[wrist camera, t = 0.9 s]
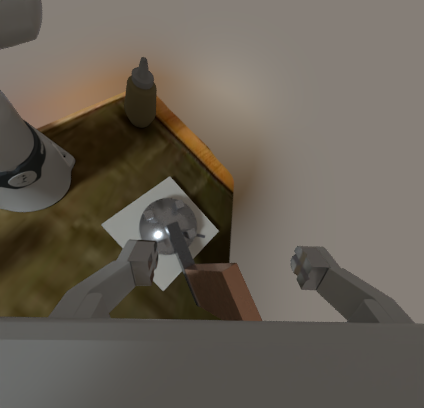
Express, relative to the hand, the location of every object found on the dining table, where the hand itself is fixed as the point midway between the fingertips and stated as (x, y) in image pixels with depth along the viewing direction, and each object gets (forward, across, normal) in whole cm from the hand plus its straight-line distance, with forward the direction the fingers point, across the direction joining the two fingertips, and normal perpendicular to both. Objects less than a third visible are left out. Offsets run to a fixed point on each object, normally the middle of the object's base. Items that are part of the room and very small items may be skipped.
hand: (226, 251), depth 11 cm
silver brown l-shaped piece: (+25, +7, +25) cm, 36 cm away
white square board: (+30, +11, +23) cm, 39 cm away
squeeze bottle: (+52, +21, 0) cm, 56 cm away
